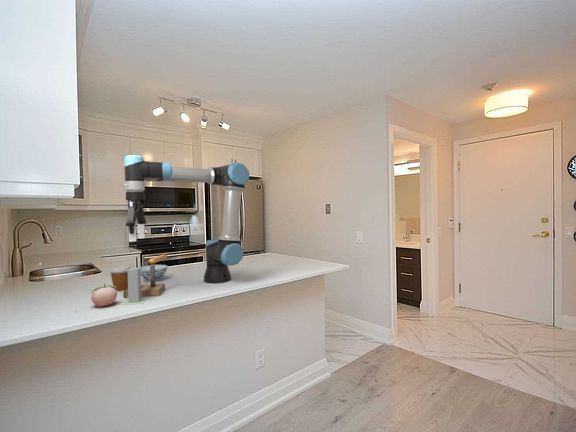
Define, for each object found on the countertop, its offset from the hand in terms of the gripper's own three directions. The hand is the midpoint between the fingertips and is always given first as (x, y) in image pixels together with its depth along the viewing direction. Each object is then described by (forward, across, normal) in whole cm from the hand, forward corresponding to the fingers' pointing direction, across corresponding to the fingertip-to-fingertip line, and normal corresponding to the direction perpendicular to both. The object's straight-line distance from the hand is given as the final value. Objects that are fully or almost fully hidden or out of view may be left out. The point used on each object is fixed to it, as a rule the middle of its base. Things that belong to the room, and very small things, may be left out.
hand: (137, 239), depth 134 cm
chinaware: (+28, -41, -3) cm, 49 cm away
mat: (+27, +3, -1) cm, 27 cm away
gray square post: (+26, +3, -1) cm, 26 cm away
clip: (+12, -15, +5) cm, 20 cm away
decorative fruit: (+27, +7, -12) cm, 30 cm away
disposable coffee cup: (+27, -20, -14) cm, 36 cm away
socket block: (+27, -8, 0) cm, 28 cm away
